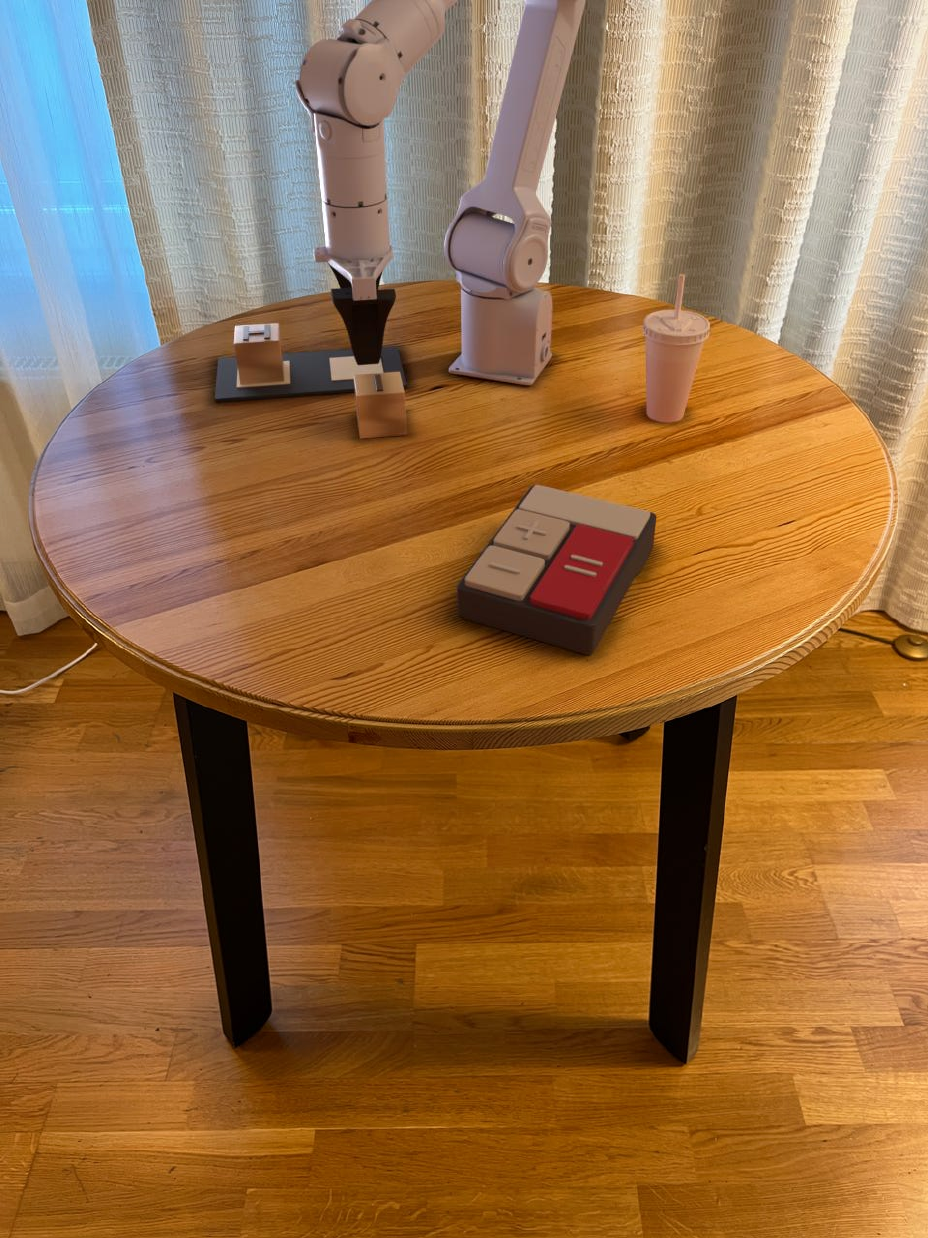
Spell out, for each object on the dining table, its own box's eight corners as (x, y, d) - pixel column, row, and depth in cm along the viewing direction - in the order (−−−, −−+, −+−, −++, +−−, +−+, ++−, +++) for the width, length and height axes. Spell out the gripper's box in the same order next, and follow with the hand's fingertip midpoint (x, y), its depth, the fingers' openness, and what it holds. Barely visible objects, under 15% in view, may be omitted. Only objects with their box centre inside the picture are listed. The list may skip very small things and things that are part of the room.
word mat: (397, 348, 116) (397, 344, 115) (407, 388, 108) (406, 383, 108) (218, 361, 113) (218, 357, 113) (215, 402, 106) (214, 398, 105)
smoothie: (694, 400, 105) (714, 265, 97) (699, 430, 100) (721, 290, 92) (632, 398, 106) (646, 263, 97) (633, 427, 101) (649, 288, 92)
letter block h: (283, 362, 112) (278, 321, 109) (284, 381, 108) (278, 339, 105) (241, 365, 111) (234, 324, 108) (240, 384, 108) (233, 342, 105)
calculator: (453, 579, 75) (532, 475, 85) (456, 623, 78) (531, 517, 88) (594, 619, 72) (659, 505, 82) (591, 663, 74) (654, 548, 84)
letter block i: (402, 413, 104) (399, 369, 101) (406, 435, 100) (404, 390, 97) (356, 416, 103) (353, 373, 100) (359, 438, 100) (356, 394, 97)
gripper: (306, 176, 94) (320, 318, 102) (310, 227, 83) (325, 382, 91) (383, 172, 95) (390, 313, 103) (397, 222, 83) (404, 376, 92)
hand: (365, 345), depth 97 cm, fingers open, 7 cm apart
